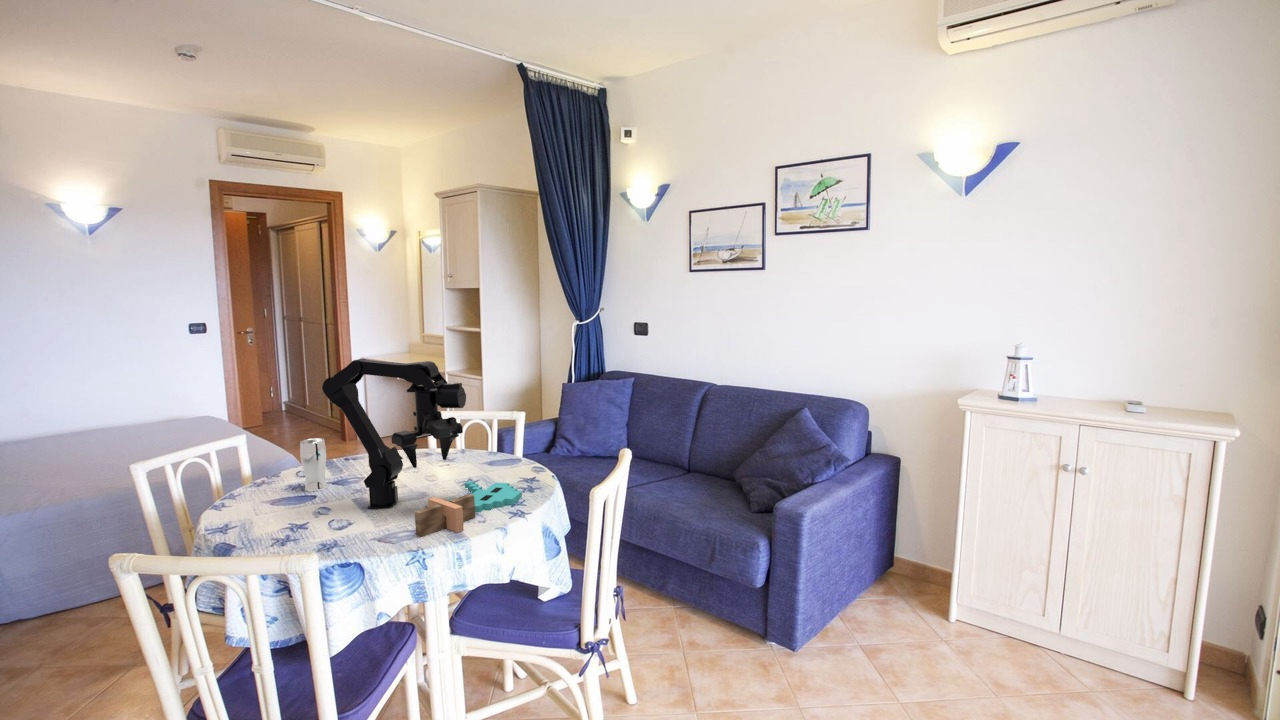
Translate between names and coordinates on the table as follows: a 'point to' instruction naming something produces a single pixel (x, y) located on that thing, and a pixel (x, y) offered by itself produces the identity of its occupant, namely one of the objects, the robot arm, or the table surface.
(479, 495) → the alien figure
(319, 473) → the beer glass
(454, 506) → the terracotta u-shaped block
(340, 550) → the table surface
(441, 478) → the table surface
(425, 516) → the notched wooden block
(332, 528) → the table surface
